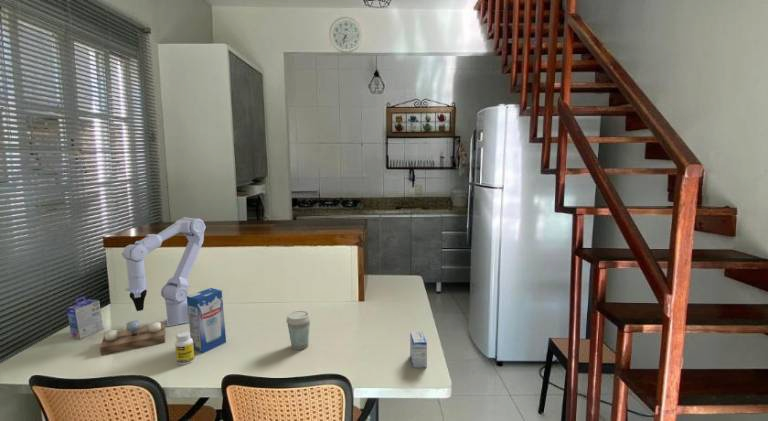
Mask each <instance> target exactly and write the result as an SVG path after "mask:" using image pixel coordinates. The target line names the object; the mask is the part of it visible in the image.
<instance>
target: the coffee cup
mask: <svg viewBox="0 0 768 421" xmlns="http://www.w3.org/2000/svg"><path fill="white" fill-rule="evenodd" d="M311 319H312V318H311V315H310V313H309V312H308V311H305V310H297V311H292V312H289V313H288V314H287V317H286V323H287V329H288V333H289V334H288V335H289V339H290V343H291V349H292V350H295V351H303V350H305V349H308V347H309V340H310V339H309V338H310V323H311Z"/></svg>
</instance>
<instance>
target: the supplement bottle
mask: <svg viewBox="0 0 768 421" xmlns="http://www.w3.org/2000/svg"><path fill="white" fill-rule="evenodd" d="M174 344H175V354H176V355H175V356H176V362H177V364H178V365H181V366H182V365H188V364H191V363H193V362H194V361H195V350H194V347H193V340H192V338H191V335H190V331H182V332H178V333H177V334H176V341H175V343H174Z"/></svg>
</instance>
